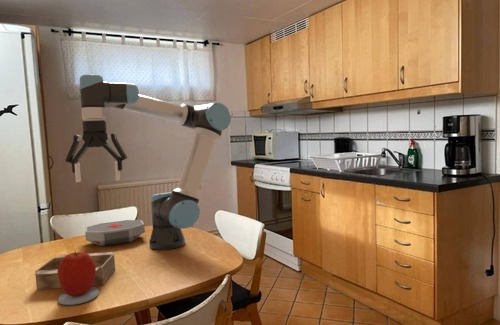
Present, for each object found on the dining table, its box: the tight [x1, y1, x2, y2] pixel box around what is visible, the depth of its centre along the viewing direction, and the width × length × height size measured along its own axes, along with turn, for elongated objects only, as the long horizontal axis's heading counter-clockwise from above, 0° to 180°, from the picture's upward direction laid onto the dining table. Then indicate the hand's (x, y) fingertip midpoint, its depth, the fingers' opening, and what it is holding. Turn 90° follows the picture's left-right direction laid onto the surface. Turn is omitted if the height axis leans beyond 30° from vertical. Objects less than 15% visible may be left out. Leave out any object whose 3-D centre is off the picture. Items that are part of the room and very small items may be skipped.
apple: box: [57, 250, 96, 296], centre depth 109 cm, size 10×10×14 cm
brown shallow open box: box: [33, 251, 116, 290], centre depth 124 cm, size 21×18×6 cm
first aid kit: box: [84, 219, 146, 247], centre depth 167 cm, size 18×8×25 cm
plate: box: [57, 286, 99, 306], centre depth 109 cm, size 11×11×1 cm
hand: (98, 181), depth 128 cm, fingers open, 13 cm apart
